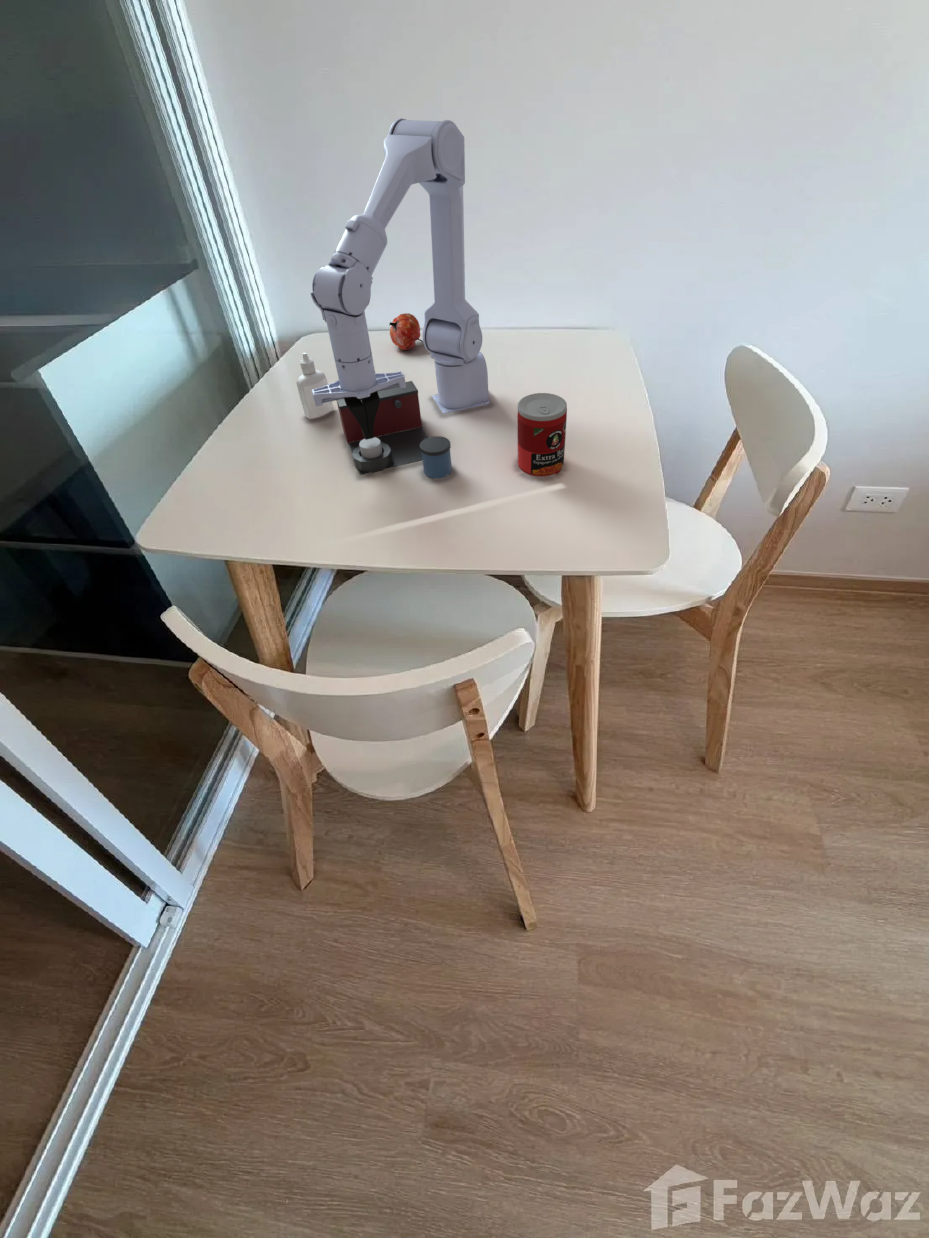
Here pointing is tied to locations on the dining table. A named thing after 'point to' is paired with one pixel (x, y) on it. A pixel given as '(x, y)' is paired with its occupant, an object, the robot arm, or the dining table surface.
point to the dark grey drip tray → (391, 451)
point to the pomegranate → (405, 331)
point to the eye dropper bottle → (307, 384)
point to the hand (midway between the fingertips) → (368, 436)
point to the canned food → (541, 433)
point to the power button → (370, 448)
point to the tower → (386, 413)
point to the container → (436, 456)
